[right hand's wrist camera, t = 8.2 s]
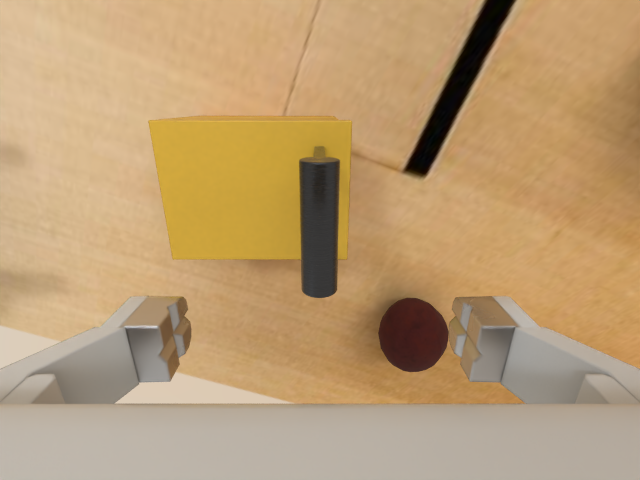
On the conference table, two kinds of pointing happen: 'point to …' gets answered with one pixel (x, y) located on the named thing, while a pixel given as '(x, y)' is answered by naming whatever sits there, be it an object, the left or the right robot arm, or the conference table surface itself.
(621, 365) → the right robot arm
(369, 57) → the conference table surface
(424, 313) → the potato
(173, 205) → the yellow panel
